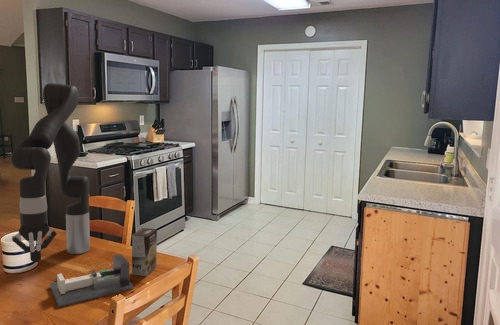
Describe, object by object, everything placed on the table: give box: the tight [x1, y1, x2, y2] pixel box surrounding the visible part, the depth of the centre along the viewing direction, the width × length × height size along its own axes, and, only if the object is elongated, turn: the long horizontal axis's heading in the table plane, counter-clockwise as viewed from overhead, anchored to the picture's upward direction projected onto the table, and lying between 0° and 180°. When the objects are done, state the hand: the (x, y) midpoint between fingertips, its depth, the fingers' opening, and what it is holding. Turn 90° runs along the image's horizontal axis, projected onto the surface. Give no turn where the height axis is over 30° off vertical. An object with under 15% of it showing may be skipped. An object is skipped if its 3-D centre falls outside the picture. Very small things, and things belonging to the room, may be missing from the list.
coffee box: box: [131, 227, 158, 277], centre depth 150 cm, size 9×6×16 cm
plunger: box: [56, 269, 101, 294], centre depth 133 cm, size 6×13×5 cm, turn 126°
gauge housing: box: [49, 253, 134, 308], centre depth 135 cm, size 16×24×8 cm, turn 126°
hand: (35, 261), depth 123 cm, fingers closed
